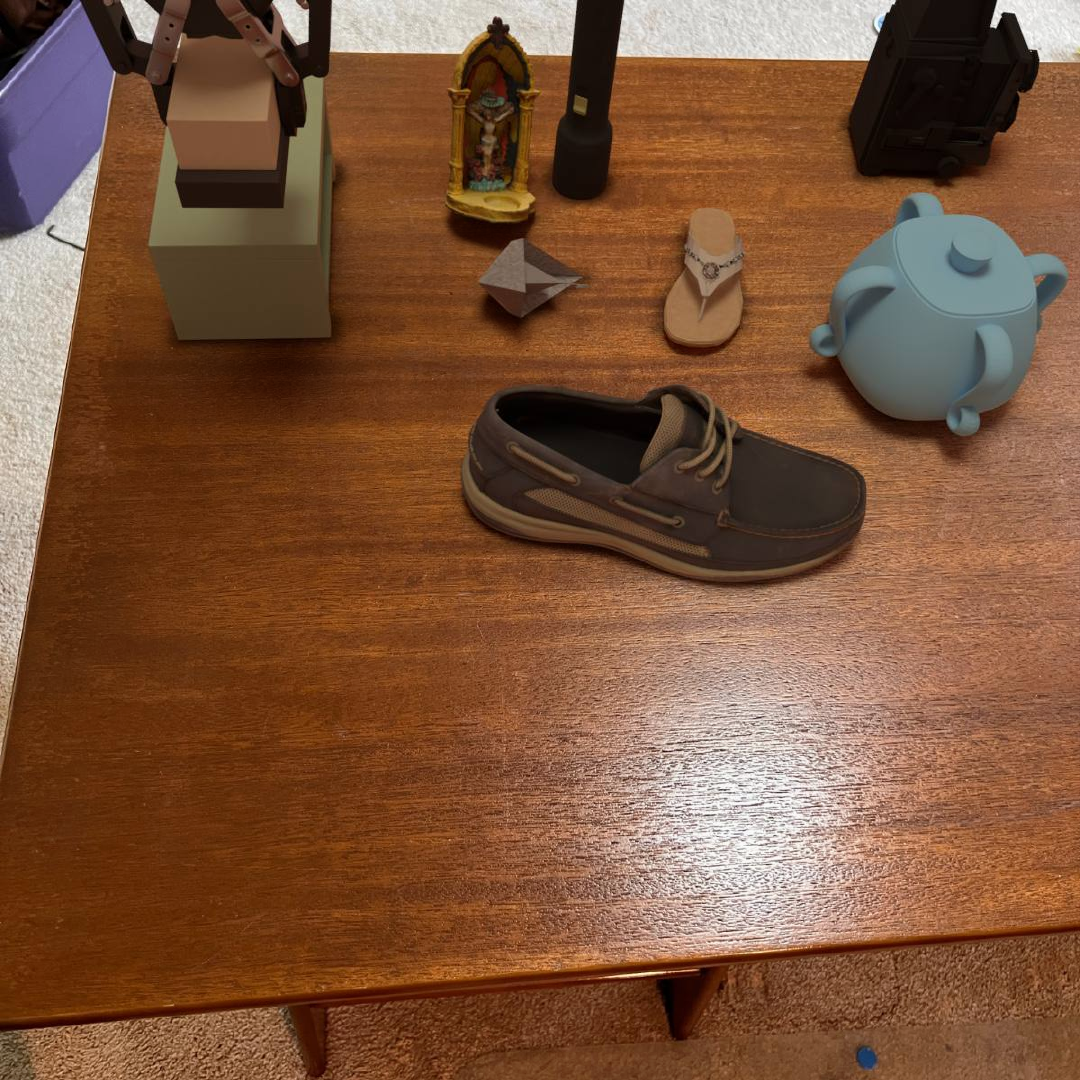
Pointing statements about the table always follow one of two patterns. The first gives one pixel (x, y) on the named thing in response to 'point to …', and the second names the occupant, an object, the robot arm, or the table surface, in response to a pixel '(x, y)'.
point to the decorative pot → (939, 316)
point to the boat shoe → (658, 482)
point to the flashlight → (588, 102)
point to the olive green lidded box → (252, 247)
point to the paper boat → (526, 277)
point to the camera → (940, 86)
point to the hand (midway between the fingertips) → (238, 126)
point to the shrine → (491, 129)
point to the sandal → (707, 283)
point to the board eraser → (226, 127)
